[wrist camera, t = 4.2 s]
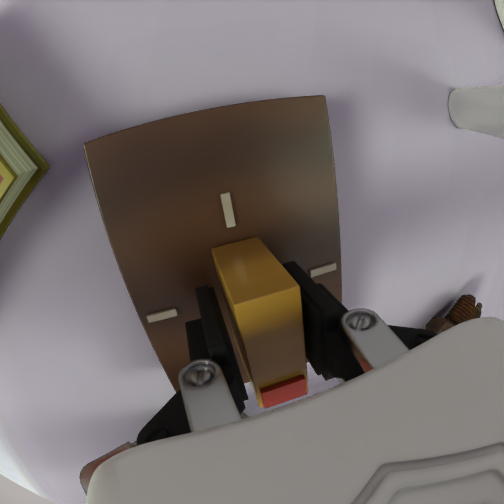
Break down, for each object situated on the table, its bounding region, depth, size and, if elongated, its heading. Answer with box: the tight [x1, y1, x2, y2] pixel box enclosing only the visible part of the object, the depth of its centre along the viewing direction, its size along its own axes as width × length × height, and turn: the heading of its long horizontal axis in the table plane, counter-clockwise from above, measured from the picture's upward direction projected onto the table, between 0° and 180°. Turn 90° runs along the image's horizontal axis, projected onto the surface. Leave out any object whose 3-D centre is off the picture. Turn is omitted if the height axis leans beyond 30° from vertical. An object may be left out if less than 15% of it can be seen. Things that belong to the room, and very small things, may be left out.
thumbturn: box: [212, 237, 308, 408], centre depth 11 cm, size 5×2×5 cm, turn 10°
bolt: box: [426, 295, 482, 335], centre depth 22 cm, size 6×5×15 cm
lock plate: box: [83, 95, 342, 393], centre depth 14 cm, size 14×10×3 cm
